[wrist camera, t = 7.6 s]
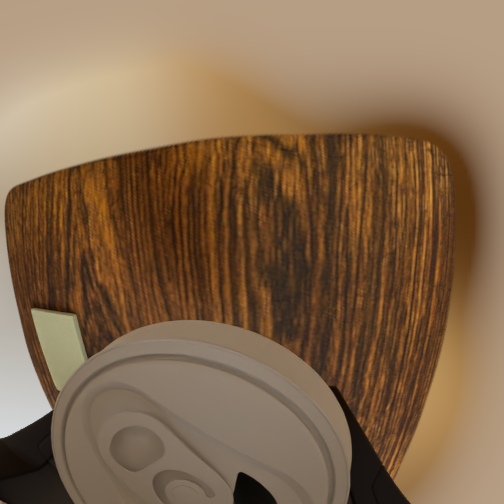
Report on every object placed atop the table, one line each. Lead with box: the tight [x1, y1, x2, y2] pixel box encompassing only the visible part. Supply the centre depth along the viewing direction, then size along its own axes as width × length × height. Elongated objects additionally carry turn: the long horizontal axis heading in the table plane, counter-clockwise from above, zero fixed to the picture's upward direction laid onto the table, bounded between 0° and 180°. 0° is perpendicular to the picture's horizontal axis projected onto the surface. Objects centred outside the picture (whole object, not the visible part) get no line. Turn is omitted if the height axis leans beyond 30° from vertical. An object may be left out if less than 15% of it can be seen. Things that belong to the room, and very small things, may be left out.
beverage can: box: [51, 320, 352, 504], centre depth 9 cm, size 6×6×12 cm
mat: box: [31, 308, 88, 391], centre depth 23 cm, size 10×7×1 cm
